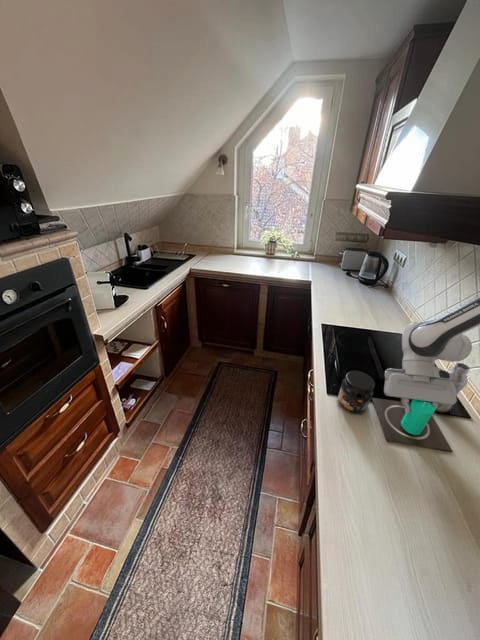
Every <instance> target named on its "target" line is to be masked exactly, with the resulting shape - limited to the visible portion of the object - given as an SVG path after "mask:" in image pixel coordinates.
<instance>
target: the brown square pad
mask: <svg viewBox="0 0 480 640" xmlns="http://www.w3.org/2000/svg"><path fill="white" fill-rule="evenodd" d="M371 402H372V405H373V407H374V410H375V412H376V415H377V416H376V417H377V419H378V421H379V424H380V427H381V430H382V433H383V435H384V439H385V441H386V442H387V443H393V444H400V445H405V446H412V447H419V448H425V449H430V450H436V451H442V452H449V453H452V452H453V449H452V447H451V445H450V443H449V442H448V440H447V439H446V437H445V436H444V433H443V432H442V430H441V429H440V427H439V425H438V423H437V421H436V420H435V417H431V418H430V419H429V421H428V422H427V424H426V426H425V427H424V429H423V430H422V432H421V433H420V434H419V435H413V434H410V433H408V432H407V431H405V430H404V429H403V427H402V426H401V421H402V419H403V417H404V415H405V407H404V406H403V404H402V402H401V401H399V400H391V399H384V398H378V397H372V398H371ZM407 403H408V405H409V406H410V404H411V402H407Z"/></svg>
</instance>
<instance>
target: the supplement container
mask: <svg viewBox="0 0 480 640" xmlns="http://www.w3.org/2000/svg"><path fill="white" fill-rule="evenodd" d="M375 386H376V383H375V380H374V379H373V378H372V376H370V375H369V374H367V373H365V372H363V371H360V370H351V371H348V372H347V373H346V374H345V376H344V378H343V379H342V381H341V384H340V389H339V391H338V394H337V402H338V404H339V406H340V407H341V408H342V409H343V410H345V411H346V412H348V413H351V414H354V415H361V414H364V413H366V412H367V410H368V408H369V406H370V402H371V401H372V398H373V396H374V394H375V390H374V389H375Z"/></svg>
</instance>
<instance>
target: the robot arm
mask: <svg viewBox="0 0 480 640" xmlns="http://www.w3.org/2000/svg"><path fill="white" fill-rule="evenodd" d="M479 326H480V296H478V297H476V298H473V299H471V300H469V301H468V302H465V303H464V304H462V305H459V306H458V307H456V308H455V309H453V310H451V311H449V312H447V313H445V314H443V315H441V316H440V317H437V318H435V319H430V320H427V321H416V322H412V323H409V324H407V325H406V326H405V327H404V328H403V329H402V330H403V331H402V335H401V350H402V351H401V352H402V354H403V356H402V359H401V368H393V367H389V368H387V369H385V371H384V385H383V394H384V395H385V396H386V397H393V398H400V402H402V404H403V406H404V407H405V413H407V414H411V408H410V407H409V405H408V403H410V400H413V399H415V400H422V401H427V402H429V403H430V404H431V405H432V406H433V407H434V410H436V408H437V407H438V403H442V404H450V405H452V406H454V405H455V404H456V403H457V402H458V399H457V397H458V396H456V389H455V385H454V383H453V382H452V381H450V380H452V379H453V375H452V374H451V373H450V372H447V371H448V370H444V369H443V368H439V367H438V366H435V363H436V362H435V361H437V360H439V361H440V360H441V361H444V362H452V363H453V362H455V363H456V362H461V361H463V360H465V359H466V358H468V357H469V356H470V355H471V352H472V349H473V347H472V346H473V345H472V342H471V340H470V338H469V337H468V336H467V335H465V334H464V333H467V332H469V331H471V330H474V329H475V328H477V327H479ZM431 417H433V418H435V412H434V413H433V414H432V416H431Z"/></svg>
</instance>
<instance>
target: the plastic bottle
mask: <svg viewBox="0 0 480 640" xmlns="http://www.w3.org/2000/svg"><path fill="white" fill-rule="evenodd" d="M470 370H471V369H470V366H469V365H467V364H465V363H463V362H456V364H455V365H454V366H453V368H452V369H449V370H446V371H447V372H450V373H451V374H452V375H453V379H452V380H450V381H452V382H453V383H454V385H455V389H456V397H458V395H459V393H460V392H461V391H462V390H463V389H464V388H465V387H466V386H467V385H468V381H469V380H468V377H467V375H468V373H469V371H470ZM452 407H453V405H450V404H442V403H438V407H437V408H436V410H435V411H434V412H437V413H441V414H445V413H448V412H450V410H452Z"/></svg>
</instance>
